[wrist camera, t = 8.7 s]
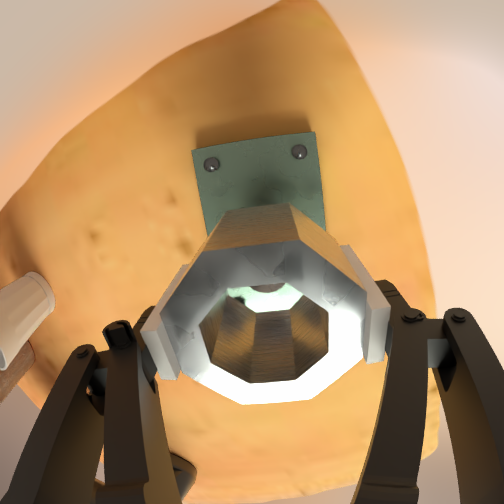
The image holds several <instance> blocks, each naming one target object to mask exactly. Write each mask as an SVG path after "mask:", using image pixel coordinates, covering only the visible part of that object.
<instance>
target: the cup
mask: <svg viewBox="0 0 504 504" xmlns="http://www.w3.org/2000/svg"><path fill="white" fill-rule="evenodd" d="M54 308H55V297H54V294H53V291H52V289H51V287H50V286H49V284H48V283H47V281H46V280H45V279H44V278H43V277H42V276H41V275H40V274H38V273H36V272H28V273H27V274H25V275H24V276H23V277H21V278H19V279H17V280H16V281H14V282H12V283H10V284H9V285H7V286H5V287H4V288H2V289H0V370H6V369H7V367H8V366H9V364H10V363H11V362H12V360H13V359H14V357H15V356H16V355H17V353H18V352H19V350H20V348H21V347H22V346H23V345H24V343H25V342H26V341H27V340H28V338H29V337H30V336H31V335H32V333H33V332H34V331H35V330H36V329H37V327H38V326H39V325H40V324H41V323H42V321H43V320H44V319H45V318H46V317H47V316H48V315H49V314H50V313H51V312H52V311H53V310H54Z"/></svg>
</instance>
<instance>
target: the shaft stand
mask: <svg viewBox="0 0 504 504" xmlns="http://www.w3.org/2000/svg"><path fill="white" fill-rule="evenodd" d="M191 151H192V156H193V162H194V168H195V173H196V178H197V184H198V189H199V194H200V200H201V205H202V210H203V215H204V220H205V225H206V230H207V235H208V236H209V235H210V233H211V232H212V231H213V229H214V228H215V226H216V225H217V224H218V222H219V221H220V219H221V218H222V217H223V215H224V214H225V212H226V211H228V210H235V209H242V208H249V207H257V206H264V205H272V204H280V203H288V202H289V203H290V204H291V205H293V206H294V207H295V208H297V209H298V210H299V211H301V212H302V213H303V214H304V215H306V216H307V217H308V218H310V219H311V220H312V221H313V222H315V223H316V224H317V225H318V226H320V227H321V228H322V229H323V230H325V231H326V227H325V215H324V204H323V194H322V184H321V175H320V166H319V158H318V150H317V143H316V136H315V132H307V133H297V134H288V135H279V136H271V137H264V138H257V139H250V140H244V141H237V142H231V143H226V144H220V145H215V146H209V147H204V148H199V149H194V150H191ZM227 290H228V295H230V296H231V297H233V298H234V299H236V300H238V301H239V302H241V303H242V304H244V305H245V306H247V307H248V308H250V309H251V310H253V311H255V312H267V311H276V310H285V309H290V308H291V307H292V306H293V305H294V304H295V303H296V302H297V301H298V300H299V299H300V298H301V297H302V296H303V294H302V293H301V292H299V291H298V290H296V289H295V288H293V287H292V286H291V285H289V284H288V283H286V282H285V283H276V284H267V285H258V286H249V287H239V288H229V289H227Z"/></svg>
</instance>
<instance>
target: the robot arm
mask: <svg viewBox="0 0 504 504" xmlns="http://www.w3.org/2000/svg"><path fill="white" fill-rule="evenodd" d="M340 248H341V249H342V251H343V252H344V254H345V256H346V257H347V259H348V261H349V262H350V264H351V266H352V267H353V269H354V271H355V272H356V274H357V276H358V277H359V279H360V281H361V282H362V284H363V286H364V288H365V289H366V291H367V300H366V317H365V331H364V343H363V356H364V358H365V361H366V364H370V363H375V362H380V361H384V355H385V351H386V353H387V356H388V362H387V368H386V373H385V380H384V385H383V391H382V396H381V401H380V405H379V410H378V414H377V419H376V423H375V427H374V431H373V435H372V439H371V442H370V446H369V449H368V453H367V456H366V460H365V463H364V466H363V469H362V472H361V475H360V478H359V481H358V484H357V487H356V490H355V493H354V495H353V498H352V501H351V503H350V504H417V502H418V497H419V488H418V487H417V485H416V482H417V476H418V471H419V465H420V459H421V453H422V446H423V438H424V430H425V419H426V407H427V388H428V368H432V370H433V374H434V377H435V380H436V383H437V387H438V390H439V394H440V397H441V401H442V405H443V408H444V412H445V416H446V420H447V424H448V429H449V433H450V438H451V443H452V448H453V453H454V459H455V464H456V471H457V478H458V485H459V493H460V503H461V504H504V370H503V368H502V366H501V364H500V363H499V360H498V359H497V356H496V355H495V353H494V351H493V349H492V348H491V346H490V344H489V342H488V341H487V339H486V337H485V335H484V334H483V332H482V330H481V329H480V327H479V325H478V324H477V322H476V320H475V319H474V317H473V316H472V314H471V313H470V312H468V311H467V310H465V309H462V308H452V309H448V310H447V311H446V312H445V314H444V318H443V319H427V318H426V316H425V314H424V313H423V312H422V311H420V310H418V309H414V308H410V306H409V305H408V304H407V302H406V301H405V299H404V298H403V297H402V295H400V293H399V291H397V289H396V287H395V286H394V285H393V284H392V283H390V282H389V281H387V280H380V281H374V280H373V279H372V277H371V276H370V274H369V273H368V271H367V270H366V268H365V267H364V265H363V264H362V263H361V261H360V260H359V258H358V257H357V255H356V254H355V253H354V251H353V250H352V248H351V247H350V246H349V245H342V246H340ZM188 266H189V264H185V265H182V267H181V268H180V270H179V271H178V273H177V274H176V276H175V277H174V279H173V280H172V282H171V283H170V285H169V286H168V288H167V289H166V291H165V292H164V294H163V296H162V297H161V299H160V300H159V302H158V303H157V305H156V306H150V307H149V308H148V309H147V310H145V311H144V312H143V314H142V315H141V317H140V319H139V320H138V321H137V323H136V324H135V326H134V327H133V329H132V328H131V325H130V323H129V322H128V321H126V320H119V321H115V322H112V323H111V324H109V325H107V326H106V327H105V328H104V329H103V331H102V333H103V335H104V337H105V340H106V342H107V344H108V346H109V350H107V351H102V352H97V351H96V349H95V347H94V346H93V345H91V344H86V345H81V346H79V347H77V348H76V349H75V350H74V351H73V352H72V353H71V355H70V357H69V359H68V360H67V362H66V364H65V366H64V367H63V369H62V371H61V373H60V375H59V377H58V378H57V380H56V382H55V384H54V386H53V388H52V390H51V392H50V394H49V395H48V397H47V399H46V401H45V403H44V405H43V407H42V409H41V412H40V414H39V416H38V418H37V420H36V422H35V424H34V427H33V429H32V431H31V433H30V435H29V438H28V440H27V442H26V445H25V447H24V449H23V452H22V454H21V457H20V459H19V462H18V464H17V467H16V470H15V472H14V475H13V478H12V481H11V484H10V486H9V490H8V491H7V493H6V494H5V495H4V497H3V498H2V500H1V501H0V504H182V500H183V499H184V497H185V496H186V494H187V493H188V492H189V490H190V489H191V487H192V486H193V484H194V483H195V480H196V475H197V470H196V469H195V467H194V466H193V465H191V464H190V463H189V462H187V461H185V460H184V459H182V458H180V457H178V456H175V455H173V454H171V453H169V448H168V443H167V438H166V433H165V428H164V422H163V417H162V411H161V405H160V398H159V391H158V384H157V382H156V380H155V378H154V376H155V374H156V372H157V371H158V373H159V375H160V377H161V379H164V380H177V378H178V375H179V373H180V370H181V368H180V365H179V363H178V360H177V358H176V355H175V353H174V350H173V348H172V345H171V343H170V340H169V337H168V335H167V332H166V330H165V327H164V324H163V321H162V319H161V317H160V314H159V313H160V312H161V310H162V308H163V307H164V305H165V303H166V302H167V300H168V298H169V297H170V295H171V293H172V292H173V290H174V288H175V287H176V285H177V283H178V282H179V280H180V279H181V277H182V275H183V274H184V272H185V270H186V269H187V267H188ZM87 386H88V388H89V389H90V392H89V394H87V393H86V389H87ZM103 444H104V474H105V483H104V482H102V481H100V480H98V479H96V478H95V476H96V472H97V468H98V463H99V459H100V455H101V451H102V448H103Z"/></svg>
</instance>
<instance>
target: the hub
mask: <svg viewBox="0 0 504 504" xmlns="http://www.w3.org/2000/svg"><path fill="white" fill-rule="evenodd" d="M285 282H286V283H288V284H289V285H291V286H292V287H293V288H295V289H296V290H298V291H299V292H301V293H302V294H303V296H302V297H301V298H300V299H299V300H298V301H297V302H296V303H295V304H294V305H293V306H292V307H291V308H290V309H285V310H276V311H267V312H255V311H253V310H251V309H250V308H248V307H247V306H245V305H244V304H242V303H241V302H239V301H238V300H236V299H234V298H233V297H231V296H230V295H228V290H227V289H229V288H239V287H249V286H258V285H267V284H276V283H285ZM366 300H367V291H366V289H365V288H364V286H363V284H362V282H361V281H360V279H359V277H358V276H357V274H356V272H355V271H354V269H353V267H352V266H351V264H350V262H349V261H348V259H347V257H346V256H345V254H344V252H343V251H342V249H341V248H340V246H339V244H338V243H337V241H336V240H335V239H334V238H333V237H332V236H331V235H330V234H328V233H327V232H326V231H325V230H323V229H322V228H321V227H320V226H318V225H317V224H316V223H315V222H313V221H312V220H311V219H310V218H308V217H307V216H306V215H304V214H303V213H302V212H301V211H299V210H298V209H297V208H295V207H294V206H293V205H291V204H290V203H289V202H288V203H280V204H272V205H264V206H257V207H249V208H242V209H235V210H228V211H226V212H225V214H224V215H223V217H222V218H221V219H220V221H219V222H218V224H217V225H216V226H215V228H214V229H213V231H212V232H211V233H210V235H209V236H208V238H207V239H206V240H205V242H204V243H203V245H202V246H201V248H200V249H199V250H198V252H197V253H196V255H195V256H194V258H193V259H192V261H191V262H190V264H189V266H188V267H187V269H186V270H185V272H184V274H183V275H182V277H181V279H180V280H179V282H178V283H177V285H176V287H175V288H174V290H173V292H172V293H171V295H170V297H169V298H168V300H167V302H166V303H165V305H164V307H163V308H162V310H161V312H160V313H159V314H160V317H161V319H162V321H163V324H164V327H165V330H166V332H167V335H168V337H169V340H170V343H171V345H172V348H173V350H174V353H175V355H176V358H177V360H178V363H179V365H180V368H181V371H182V373H183V374H185V375H187V376H189V377H190V378H192V379H194V380H196V381H198V382H199V383H201V384H203V385H205V386H207V387H209V388H211V389H213V390H214V391H216V392H218V393H220V394H222V395H224V396H226V397H228V398H230V399H232V400H234V401H236V402H239V403H241V404H256V403H272V402H285V401H296V400H305V399H311V398H312V397H314V396H315V395H316V394H318V393H319V392H320V391H322V390H323V389H324V388H326V387H327V386H328V385H330V384H331V383H332V382H333V381H335V380H336V379H337V378H339V377H340V376H341V375H342V374H343V373H345V372H346V371H347V370H348V369H350V368H351V367H352V366H353V365H354V364H356V363H357V362H358V361H359V360H360V359H361V358H362V356H363V343H364V331H365V317H366Z"/></svg>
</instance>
